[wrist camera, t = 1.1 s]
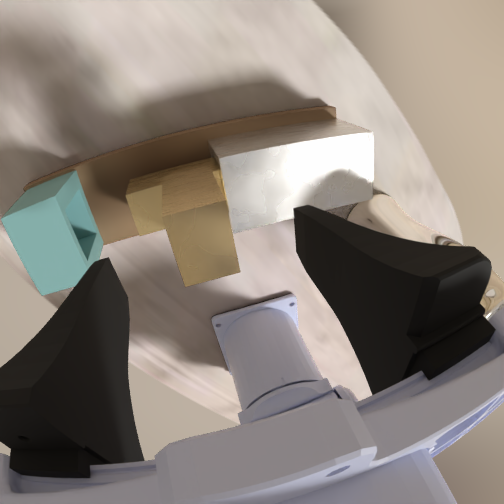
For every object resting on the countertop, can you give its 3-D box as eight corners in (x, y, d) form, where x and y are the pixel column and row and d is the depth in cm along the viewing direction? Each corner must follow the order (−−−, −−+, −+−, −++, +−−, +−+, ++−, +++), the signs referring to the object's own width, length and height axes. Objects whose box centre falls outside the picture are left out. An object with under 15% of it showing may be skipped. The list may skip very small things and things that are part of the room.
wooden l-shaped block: (333, 176, 21) (399, 226, 15) (144, 222, 19) (138, 299, 13) (331, 128, 19) (405, 162, 13) (128, 172, 17) (108, 232, 11)
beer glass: (324, 244, 27) (430, 378, 15) (366, 175, 24) (508, 282, 12) (374, 264, 30) (468, 374, 18) (411, 206, 27) (527, 301, 15)
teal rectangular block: (103, 242, 20) (93, 280, 17) (57, 257, 20) (41, 295, 16) (76, 169, 17) (55, 196, 13) (27, 189, 17) (0, 219, 13)
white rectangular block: (338, 175, 22) (372, 199, 19) (220, 202, 21) (233, 233, 17) (336, 118, 20) (373, 132, 16) (207, 140, 19) (219, 158, 15)
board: (333, 180, 24) (339, 185, 23) (59, 253, 21) (55, 260, 20) (328, 105, 20) (335, 107, 19) (28, 183, 17) (23, 188, 16)
